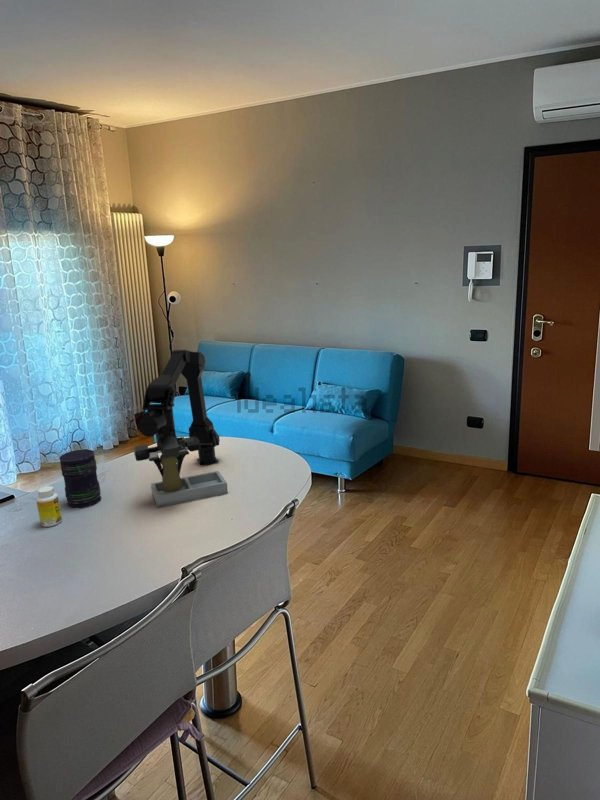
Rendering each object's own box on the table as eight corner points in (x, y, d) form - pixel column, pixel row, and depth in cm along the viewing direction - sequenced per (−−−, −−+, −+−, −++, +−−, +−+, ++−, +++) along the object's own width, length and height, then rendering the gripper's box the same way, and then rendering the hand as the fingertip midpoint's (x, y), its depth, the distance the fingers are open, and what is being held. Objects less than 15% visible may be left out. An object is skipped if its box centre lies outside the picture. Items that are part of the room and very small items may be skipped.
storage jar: (59, 505, 174) (51, 458, 170) (85, 493, 182) (78, 447, 178) (83, 510, 169) (75, 462, 165) (108, 497, 177) (101, 451, 174)
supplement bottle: (60, 525, 160) (54, 491, 158) (39, 529, 159) (32, 494, 157) (63, 517, 166) (57, 483, 163) (42, 520, 164) (36, 486, 162)
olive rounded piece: (185, 483, 177) (181, 449, 174) (179, 492, 171) (174, 456, 168) (165, 484, 177) (161, 450, 174) (159, 492, 172) (154, 457, 169)
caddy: (152, 494, 178) (150, 483, 177) (219, 480, 185) (218, 470, 184) (157, 507, 168) (155, 496, 167) (227, 493, 175) (226, 482, 174)
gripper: (134, 438, 159) (141, 491, 163) (201, 427, 165) (207, 478, 169) (130, 427, 169) (137, 477, 173) (194, 417, 175) (199, 466, 179)
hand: (170, 475), depth 173 cm, fingers closed on olive rounded piece, 4 cm apart
